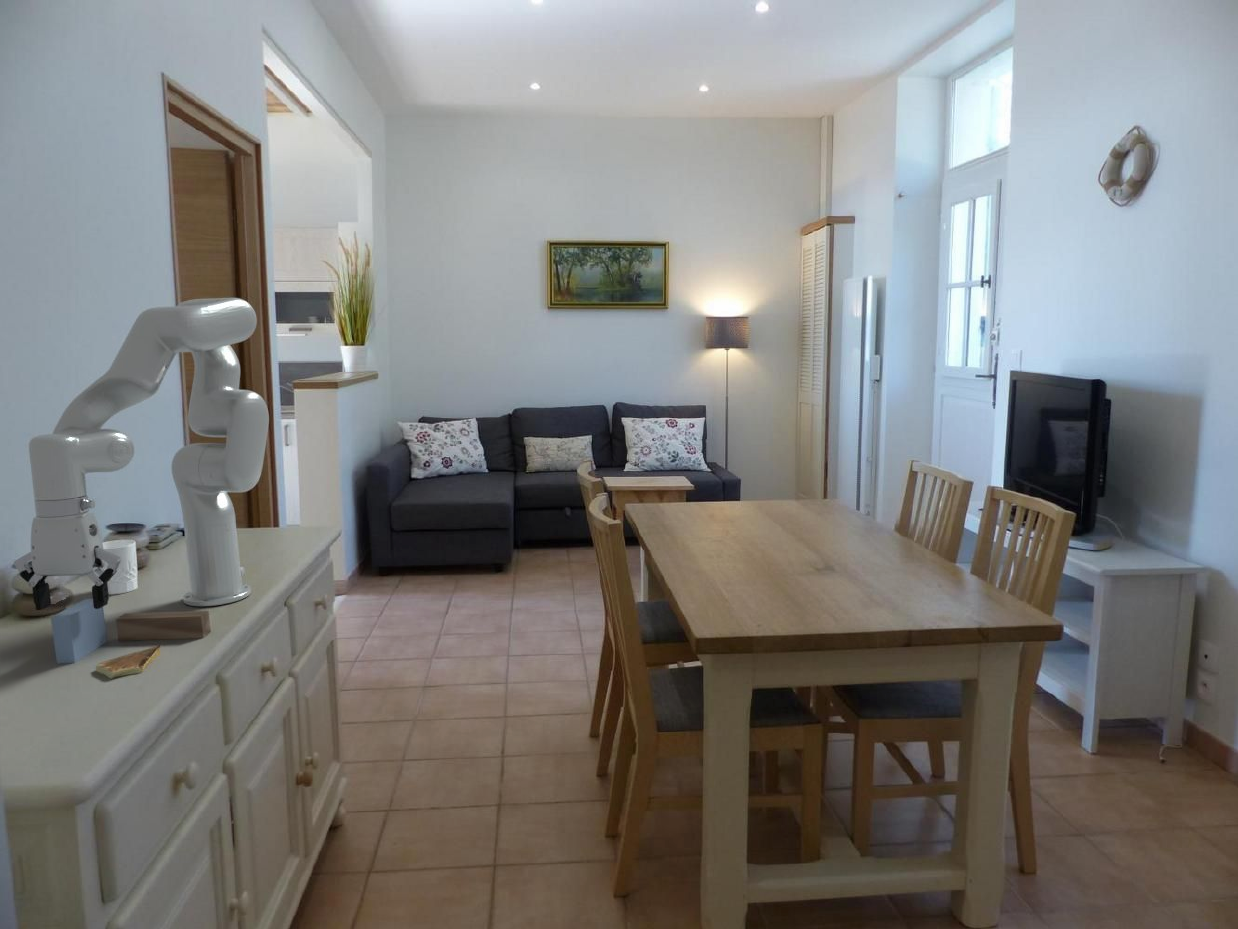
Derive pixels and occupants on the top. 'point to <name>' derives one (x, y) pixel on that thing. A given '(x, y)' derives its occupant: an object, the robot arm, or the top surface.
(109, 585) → the white cup
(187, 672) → the top surface
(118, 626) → the bar
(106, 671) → the shard
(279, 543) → the top surface
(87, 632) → the block
